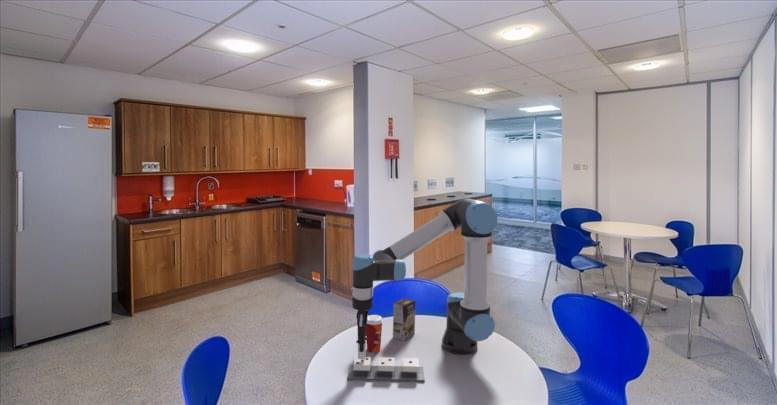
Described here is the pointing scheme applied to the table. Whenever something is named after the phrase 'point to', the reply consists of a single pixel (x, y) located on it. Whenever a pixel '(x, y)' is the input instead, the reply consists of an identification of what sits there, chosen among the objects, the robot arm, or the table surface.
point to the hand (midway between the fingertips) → (361, 358)
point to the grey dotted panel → (386, 375)
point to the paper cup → (374, 333)
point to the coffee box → (404, 319)
